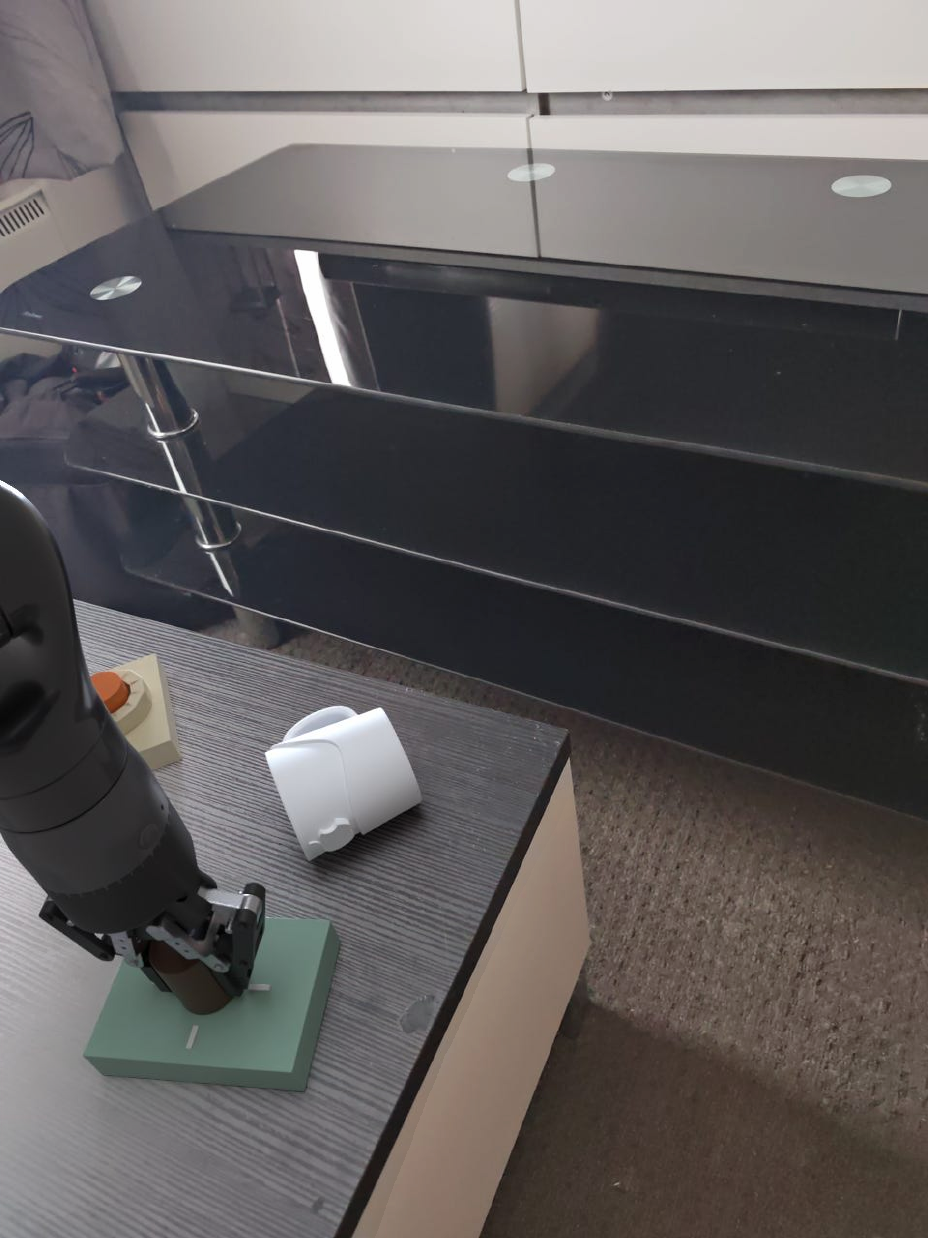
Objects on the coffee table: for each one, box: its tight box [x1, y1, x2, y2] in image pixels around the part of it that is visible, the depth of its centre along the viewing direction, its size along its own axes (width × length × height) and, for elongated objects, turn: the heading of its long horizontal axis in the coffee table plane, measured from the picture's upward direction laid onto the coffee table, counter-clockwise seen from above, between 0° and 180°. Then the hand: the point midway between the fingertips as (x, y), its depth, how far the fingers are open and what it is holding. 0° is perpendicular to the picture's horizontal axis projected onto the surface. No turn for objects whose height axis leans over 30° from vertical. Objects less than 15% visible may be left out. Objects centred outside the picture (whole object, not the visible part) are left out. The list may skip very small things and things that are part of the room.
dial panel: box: [82, 916, 342, 1092], centre depth 61 cm, size 14×10×3 cm
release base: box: [103, 653, 183, 772], centre depth 81 cm, size 12×9×4 cm
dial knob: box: [149, 934, 234, 1015], centre depth 58 cm, size 4×4×6 cm
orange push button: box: [90, 670, 129, 714], centre depth 79 cm, size 4×4×2 cm
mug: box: [264, 705, 422, 862], centre depth 70 cm, size 12×9×8 cm
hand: (206, 979), depth 59 cm, fingers closed on dial knob, 4 cm apart
